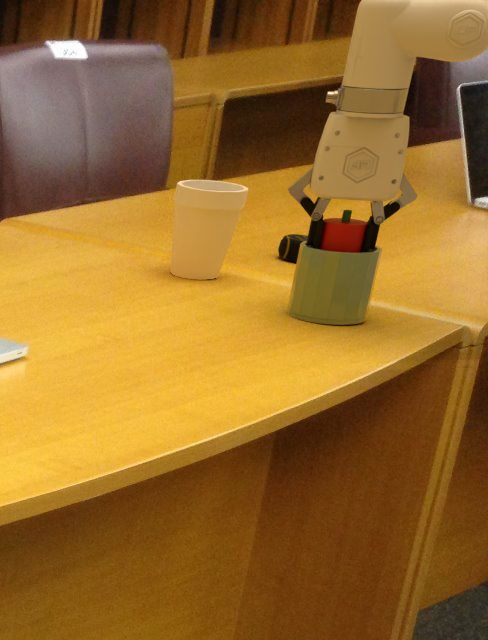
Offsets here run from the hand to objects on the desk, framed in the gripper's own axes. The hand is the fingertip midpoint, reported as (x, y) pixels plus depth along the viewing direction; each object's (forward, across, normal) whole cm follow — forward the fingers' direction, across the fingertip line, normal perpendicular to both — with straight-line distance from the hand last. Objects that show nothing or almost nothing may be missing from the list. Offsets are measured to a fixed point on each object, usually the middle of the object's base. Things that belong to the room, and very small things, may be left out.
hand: (339, 251), depth 196 cm
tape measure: (+8, 0, +37) cm, 38 cm away
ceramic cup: (+8, 0, 0) cm, 8 cm away
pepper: (+1, 0, 0) cm, 1 cm away
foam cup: (+8, -16, +18) cm, 26 cm away
